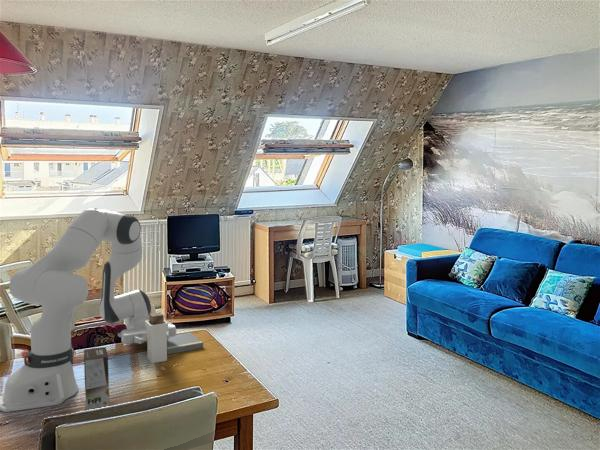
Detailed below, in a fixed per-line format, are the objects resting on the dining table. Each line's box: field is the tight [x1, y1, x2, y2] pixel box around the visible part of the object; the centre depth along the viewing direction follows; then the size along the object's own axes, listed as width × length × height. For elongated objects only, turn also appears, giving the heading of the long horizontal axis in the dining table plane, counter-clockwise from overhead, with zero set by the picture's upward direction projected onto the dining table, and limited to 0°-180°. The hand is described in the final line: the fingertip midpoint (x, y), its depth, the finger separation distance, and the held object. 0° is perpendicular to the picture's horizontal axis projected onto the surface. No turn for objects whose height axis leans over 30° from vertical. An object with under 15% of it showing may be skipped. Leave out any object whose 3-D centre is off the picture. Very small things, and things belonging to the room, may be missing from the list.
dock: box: [167, 332, 204, 355], centre depth 205 cm, size 14×14×2 cm
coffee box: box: [83, 346, 110, 411], centre depth 154 cm, size 9×6×16 cm
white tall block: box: [145, 320, 169, 364], centre depth 189 cm, size 6×6×14 cm
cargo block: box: [148, 311, 165, 325], centre depth 188 cm, size 4×4×4 cm
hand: (154, 339), depth 191 cm, fingers open, 8 cm apart
